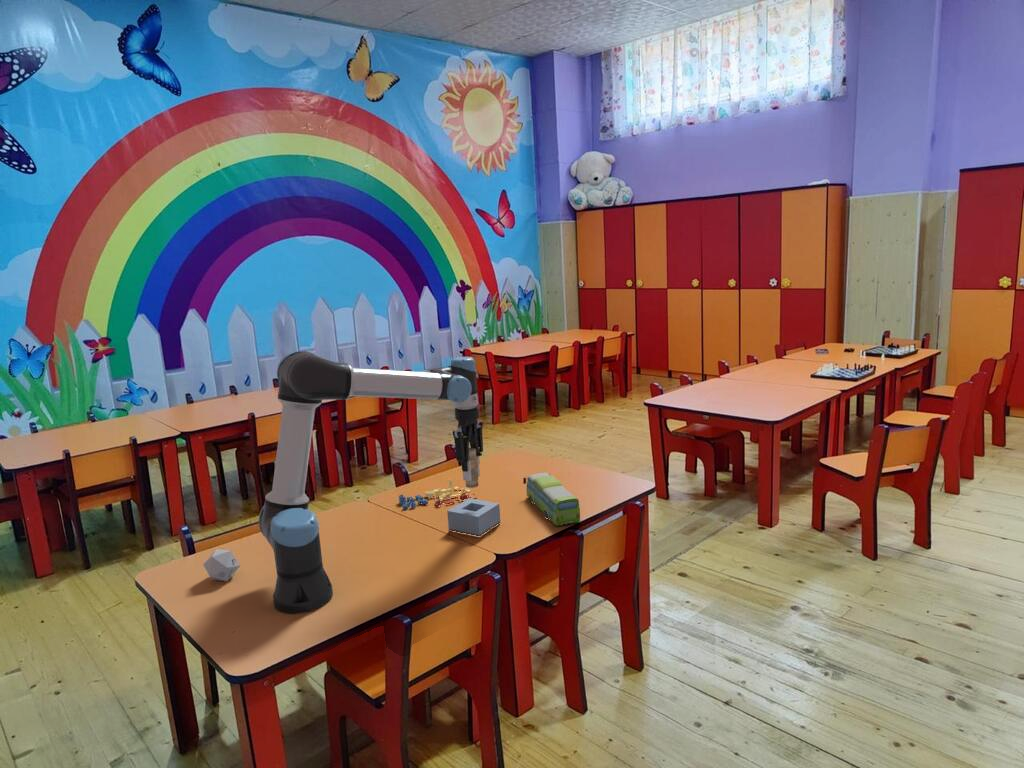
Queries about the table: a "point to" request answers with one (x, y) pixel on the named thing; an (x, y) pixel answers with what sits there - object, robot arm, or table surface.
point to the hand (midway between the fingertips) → (471, 477)
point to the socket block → (473, 516)
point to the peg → (473, 469)
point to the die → (221, 565)
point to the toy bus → (552, 499)
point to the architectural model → (437, 492)
